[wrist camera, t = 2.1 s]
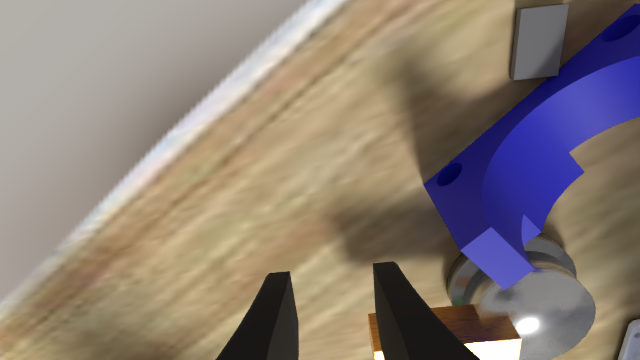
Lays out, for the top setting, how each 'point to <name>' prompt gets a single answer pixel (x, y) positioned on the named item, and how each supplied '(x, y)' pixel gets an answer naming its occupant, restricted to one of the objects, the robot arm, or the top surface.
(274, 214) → the top surface
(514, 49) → the grey block
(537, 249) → the dial housing
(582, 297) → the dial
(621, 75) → the cable clip
